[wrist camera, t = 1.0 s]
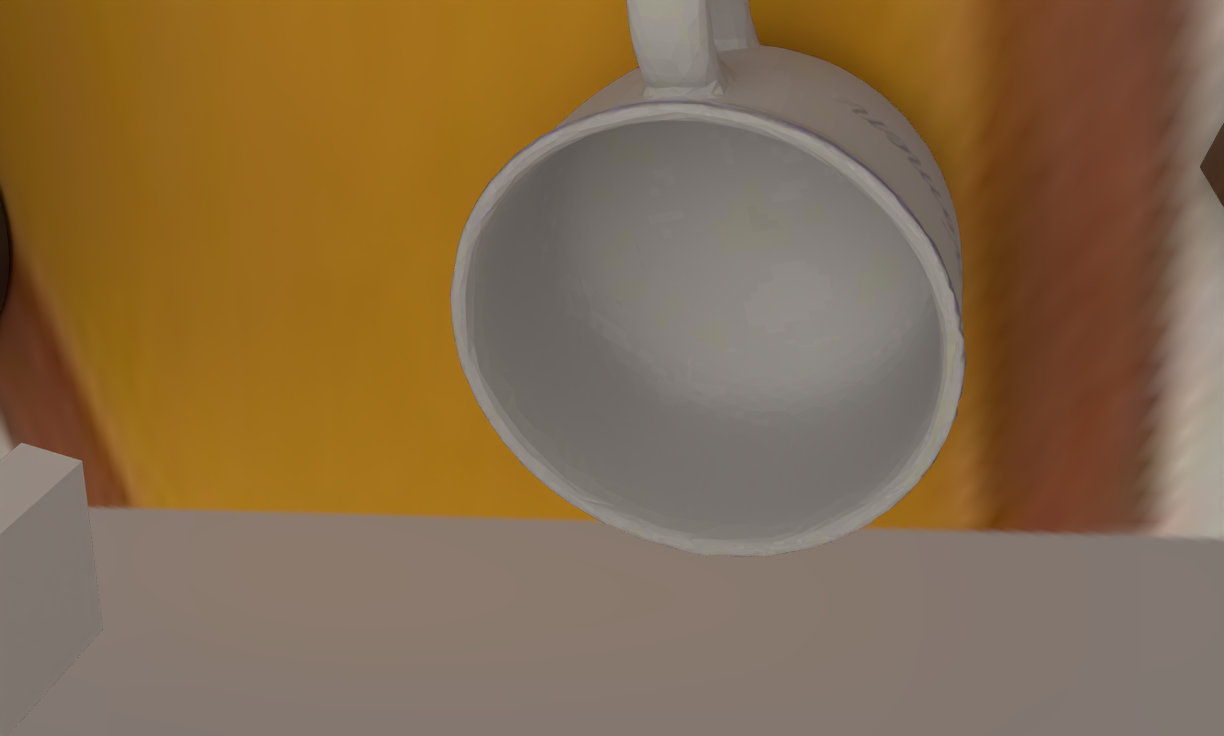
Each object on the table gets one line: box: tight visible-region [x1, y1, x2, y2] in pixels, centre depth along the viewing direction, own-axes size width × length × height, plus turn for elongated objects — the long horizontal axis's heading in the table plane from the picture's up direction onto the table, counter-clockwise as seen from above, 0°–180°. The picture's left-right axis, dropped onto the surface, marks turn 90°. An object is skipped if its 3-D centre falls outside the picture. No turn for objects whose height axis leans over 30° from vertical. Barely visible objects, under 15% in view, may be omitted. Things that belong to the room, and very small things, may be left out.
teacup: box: [451, 0, 966, 557], centre depth 25 cm, size 14×11×8 cm
